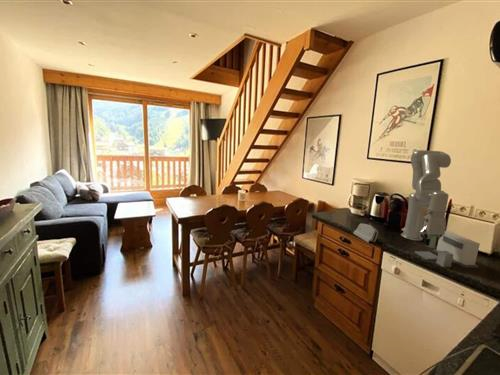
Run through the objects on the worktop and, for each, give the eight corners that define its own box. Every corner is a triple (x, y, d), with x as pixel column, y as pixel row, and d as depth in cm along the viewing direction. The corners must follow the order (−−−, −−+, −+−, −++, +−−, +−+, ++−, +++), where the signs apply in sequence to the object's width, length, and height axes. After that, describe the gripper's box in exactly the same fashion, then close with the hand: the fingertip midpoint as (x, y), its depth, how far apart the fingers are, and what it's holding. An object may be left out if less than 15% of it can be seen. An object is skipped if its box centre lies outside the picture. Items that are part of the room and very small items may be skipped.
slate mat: (414, 252, 145) (414, 251, 145) (428, 252, 146) (429, 251, 146) (426, 259, 137) (426, 258, 136) (441, 260, 137) (441, 258, 137)
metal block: (436, 262, 134) (438, 250, 132) (443, 262, 134) (446, 250, 133) (443, 266, 129) (445, 254, 128) (450, 267, 130) (453, 254, 128)
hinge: (352, 233, 173) (358, 220, 172) (358, 235, 174) (364, 222, 173) (368, 242, 157) (375, 228, 156) (374, 244, 158) (381, 230, 157)
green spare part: (429, 247, 137) (431, 235, 136) (423, 244, 142) (425, 232, 141) (436, 247, 138) (439, 235, 137) (430, 244, 142) (432, 233, 141)
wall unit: (433, 251, 149) (437, 230, 147) (445, 251, 150) (449, 230, 147) (464, 267, 129) (469, 244, 127) (477, 267, 130) (483, 244, 128)
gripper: (427, 215, 132) (421, 247, 135) (456, 216, 134) (449, 248, 137) (417, 211, 140) (411, 242, 143) (444, 212, 141) (438, 242, 144)
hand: (430, 244), depth 140 cm, fingers closed on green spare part, 4 cm apart
